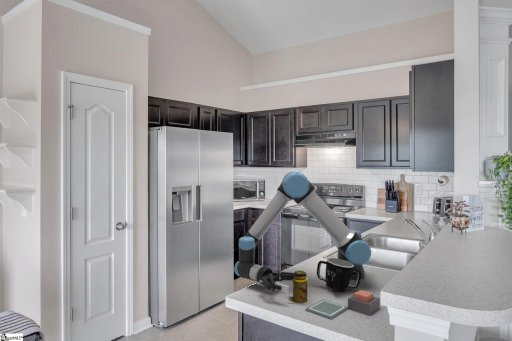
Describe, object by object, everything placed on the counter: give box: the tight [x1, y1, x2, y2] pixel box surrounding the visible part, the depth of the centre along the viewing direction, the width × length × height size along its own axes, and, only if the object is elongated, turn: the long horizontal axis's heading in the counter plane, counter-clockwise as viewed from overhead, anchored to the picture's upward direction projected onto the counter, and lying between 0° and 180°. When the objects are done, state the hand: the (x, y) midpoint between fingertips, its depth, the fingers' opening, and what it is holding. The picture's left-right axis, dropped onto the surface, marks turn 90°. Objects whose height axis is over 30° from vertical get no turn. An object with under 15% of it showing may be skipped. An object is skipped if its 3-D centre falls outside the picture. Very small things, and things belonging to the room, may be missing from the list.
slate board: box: [305, 299, 349, 320], centre depth 135 cm, size 13×12×1 cm
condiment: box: [287, 270, 310, 305], centre depth 145 cm, size 7×8×12 cm
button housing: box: [347, 295, 381, 316], centre depth 136 cm, size 9×9×4 cm
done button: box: [353, 289, 374, 303], centre depth 136 cm, size 5×5×3 cm
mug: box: [316, 257, 362, 292], centre depth 157 cm, size 16×16×12 cm
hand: (298, 285), depth 144 cm, fingers open, 13 cm apart
